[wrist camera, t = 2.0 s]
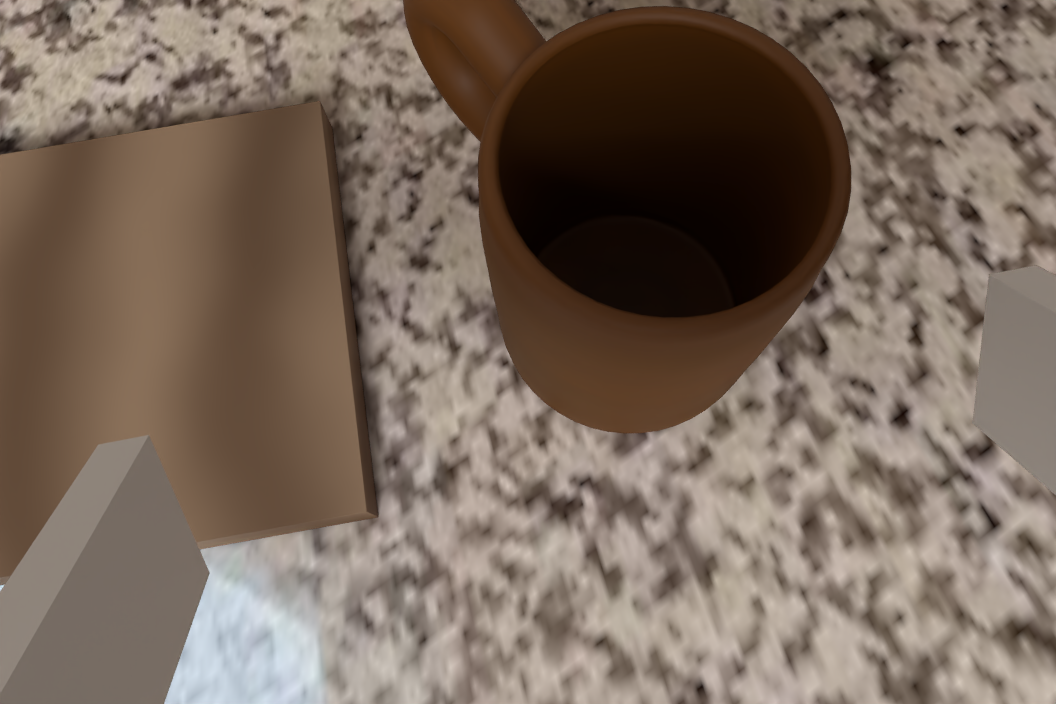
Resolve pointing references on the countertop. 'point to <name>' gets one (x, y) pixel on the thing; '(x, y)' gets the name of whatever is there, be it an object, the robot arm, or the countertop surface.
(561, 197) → the mug
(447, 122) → the countertop surface
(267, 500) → the shelf
